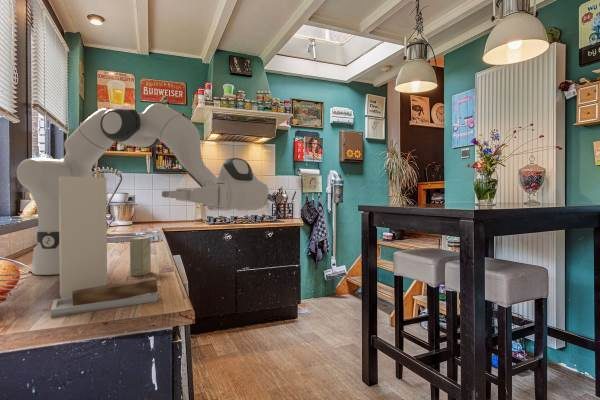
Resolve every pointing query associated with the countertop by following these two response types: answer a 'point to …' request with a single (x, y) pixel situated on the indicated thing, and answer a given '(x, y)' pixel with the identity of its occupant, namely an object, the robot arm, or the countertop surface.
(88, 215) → the tall cream pillar
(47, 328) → the countertop surface
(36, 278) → the countertop surface
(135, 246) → the skincare box
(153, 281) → the walnut bar
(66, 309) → the tray
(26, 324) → the countertop surface
